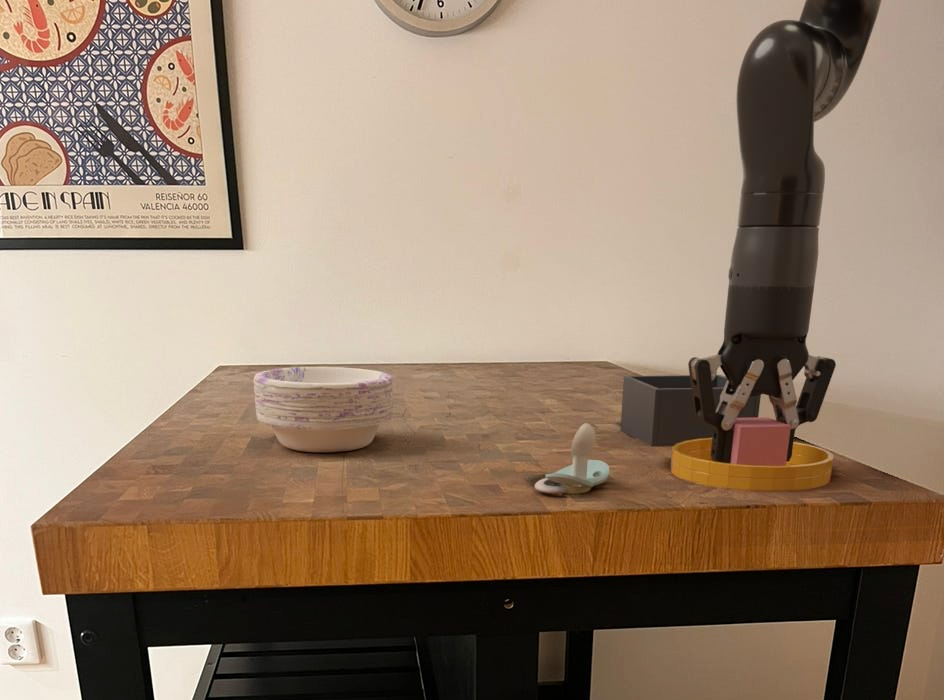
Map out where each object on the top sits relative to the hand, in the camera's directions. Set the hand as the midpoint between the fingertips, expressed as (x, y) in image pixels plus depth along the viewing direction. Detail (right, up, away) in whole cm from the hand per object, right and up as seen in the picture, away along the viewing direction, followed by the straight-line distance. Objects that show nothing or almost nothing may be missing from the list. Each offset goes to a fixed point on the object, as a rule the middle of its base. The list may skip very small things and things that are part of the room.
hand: (750, 466), depth 94 cm
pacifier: (-18, -3, -6) cm, 19 cm away
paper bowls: (-43, +5, +15) cm, 46 cm away
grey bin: (-2, +7, +20) cm, 21 cm away
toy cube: (0, -1, 0) cm, 1 cm away
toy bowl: (0, -1, 0) cm, 1 cm away
